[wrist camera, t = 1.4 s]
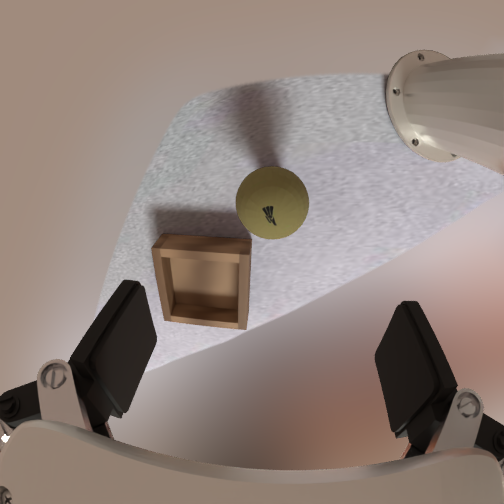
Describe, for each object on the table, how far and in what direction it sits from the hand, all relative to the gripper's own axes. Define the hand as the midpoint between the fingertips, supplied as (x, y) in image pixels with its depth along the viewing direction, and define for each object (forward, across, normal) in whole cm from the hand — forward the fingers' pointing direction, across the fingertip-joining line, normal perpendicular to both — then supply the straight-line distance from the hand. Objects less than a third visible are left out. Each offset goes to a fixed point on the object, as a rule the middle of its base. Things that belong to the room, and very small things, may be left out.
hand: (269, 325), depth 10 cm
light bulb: (+20, 0, 0) cm, 20 cm away
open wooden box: (+20, +7, +12) cm, 24 cm away
